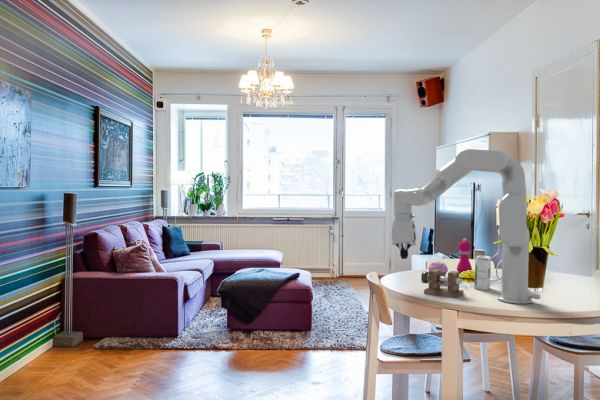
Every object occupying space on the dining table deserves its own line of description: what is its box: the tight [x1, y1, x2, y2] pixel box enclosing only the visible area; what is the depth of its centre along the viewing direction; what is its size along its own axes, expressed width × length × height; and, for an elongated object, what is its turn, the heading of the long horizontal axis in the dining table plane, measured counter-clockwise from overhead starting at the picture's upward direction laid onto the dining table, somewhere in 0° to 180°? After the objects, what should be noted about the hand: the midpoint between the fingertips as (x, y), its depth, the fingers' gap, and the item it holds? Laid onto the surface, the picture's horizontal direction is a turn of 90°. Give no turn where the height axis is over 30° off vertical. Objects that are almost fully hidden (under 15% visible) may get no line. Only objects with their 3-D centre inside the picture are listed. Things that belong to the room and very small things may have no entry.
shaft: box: [420, 271, 463, 285], centre depth 201 cm, size 16×5×5 cm, turn 56°
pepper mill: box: [456, 238, 473, 274], centre depth 238 cm, size 7×7×20 cm
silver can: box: [474, 255, 492, 291], centre depth 211 cm, size 6×6×14 cm
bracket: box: [423, 269, 464, 299], centre depth 200 cm, size 14×9×10 cm, turn 56°
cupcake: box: [427, 261, 449, 284], centre depth 226 cm, size 9×9×10 cm
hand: (404, 258), depth 211 cm, fingers closed
